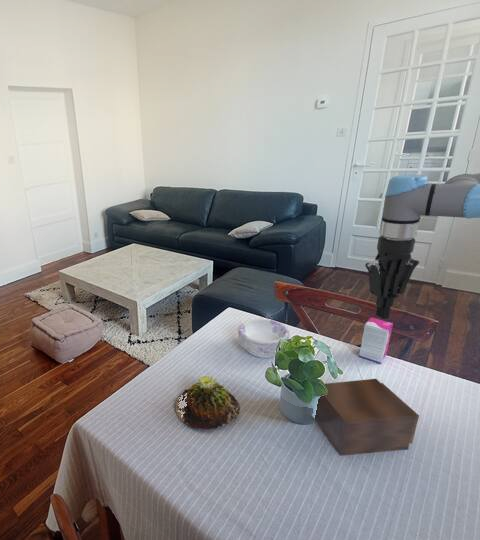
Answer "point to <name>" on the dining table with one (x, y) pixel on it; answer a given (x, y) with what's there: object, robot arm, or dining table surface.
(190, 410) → the cactus
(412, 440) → the drawer
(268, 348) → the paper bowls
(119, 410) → the dining table surface
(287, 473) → the dining table surface
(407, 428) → the cabinet
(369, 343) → the supplement box
